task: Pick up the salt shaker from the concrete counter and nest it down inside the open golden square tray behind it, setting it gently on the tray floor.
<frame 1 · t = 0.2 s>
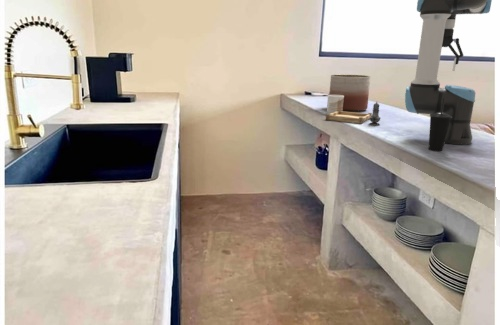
hand: (439, 70, 199), 28 cm above the worktop, fingers open, 13 cm apart
golden square tray: (348, 119, 210), on the worktop
drinking cup: (435, 150, 145), on the worktop
planter: (347, 109, 248), on the worktop
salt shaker: (374, 124, 196), on the worktop
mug: (335, 113, 231), on the worktop
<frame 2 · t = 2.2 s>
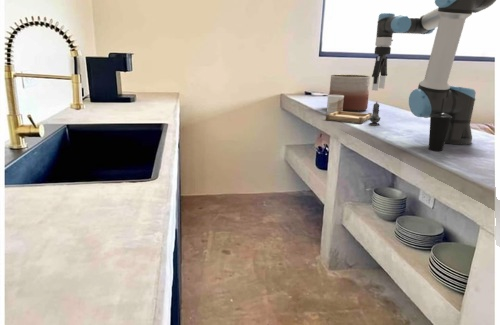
hand: (378, 89, 191), 18 cm above the worktop, fingers open, 13 cm apart
nothing on the worktop moved.
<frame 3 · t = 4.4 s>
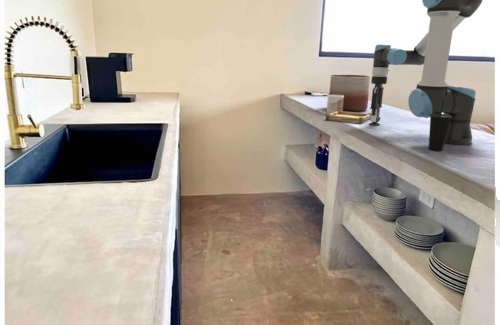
hand: (374, 120, 196), 2 cm above the worktop, fingers closed on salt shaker, 6 cm apart
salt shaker: (374, 124, 196), on the worktop, touching gripper
everything else where it was.
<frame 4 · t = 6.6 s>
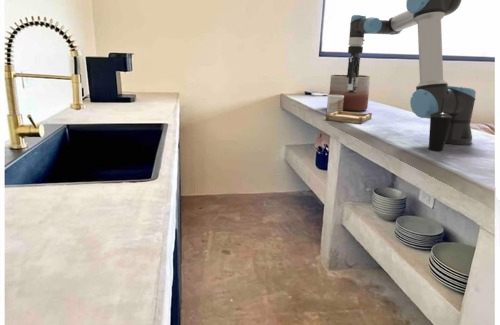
hand: (351, 89, 205), 17 cm above the worktop, fingers closed on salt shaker, 6 cm apart
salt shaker: (351, 93, 206), point 15 cm above the worktop, touching gripper
everything else where it was.
when the fingers open (3 cm above the worktop, at t = 8.8 s): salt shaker stays where it is, resting on golden square tray.
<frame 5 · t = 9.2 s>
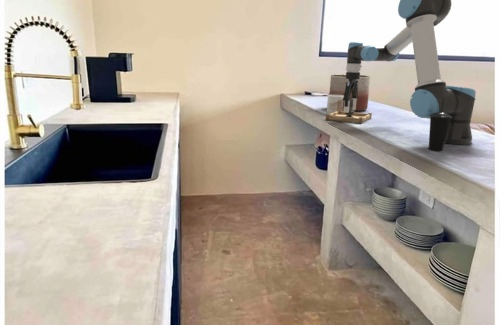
hand: (349, 111, 209), 5 cm above the worktop, fingers open, 12 cm apart
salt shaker: (349, 117, 210), point 1 cm above the worktop, touching golden square tray
everything else where it was.
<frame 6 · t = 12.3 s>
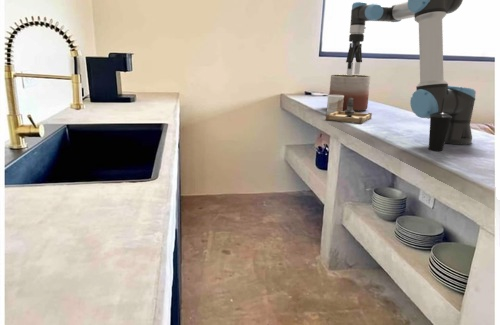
hand: (353, 74, 203), 25 cm above the worktop, fingers open, 13 cm apart
nothing on the worktop moved.
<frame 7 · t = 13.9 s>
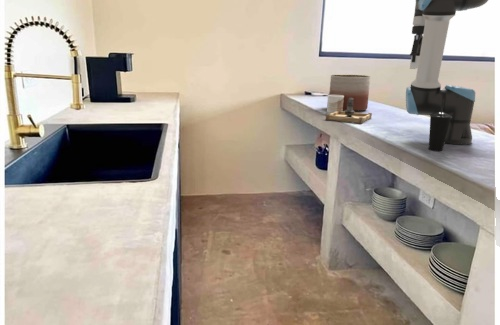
hand: (414, 68, 194), 29 cm above the worktop, fingers open, 13 cm apart
nothing on the worktop moved.
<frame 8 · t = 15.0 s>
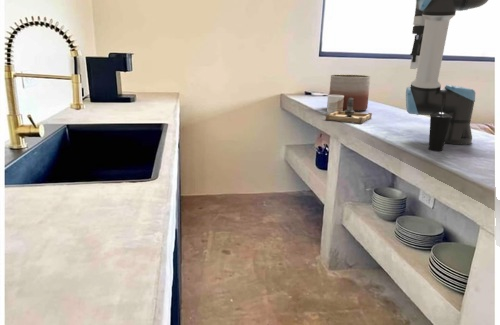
hand: (415, 68, 194), 29 cm above the worktop, fingers open, 13 cm apart
nothing on the worktop moved.
at the end: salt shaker inside the target area on the golden square tray (0.0 cm from its centre), point 0.8 cm above the golden square tray's base; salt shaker tilted 0°; the gripper is holding nothing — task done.
